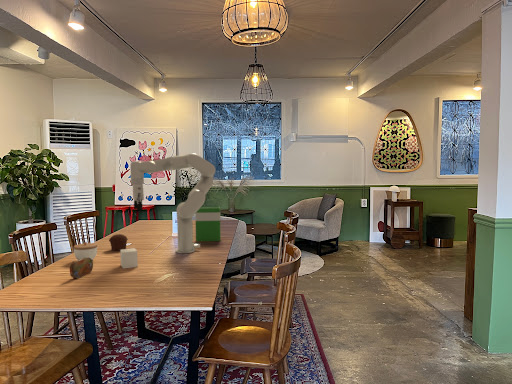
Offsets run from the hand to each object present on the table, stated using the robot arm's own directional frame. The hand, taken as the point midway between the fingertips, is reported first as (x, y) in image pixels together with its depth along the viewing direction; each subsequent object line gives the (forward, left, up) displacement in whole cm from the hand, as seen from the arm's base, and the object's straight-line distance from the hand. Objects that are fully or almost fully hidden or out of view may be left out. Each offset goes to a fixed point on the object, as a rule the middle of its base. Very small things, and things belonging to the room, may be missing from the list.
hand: (138, 209), depth 228 cm
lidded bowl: (+30, -2, -29) cm, 41 cm away
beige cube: (+10, +23, -28) cm, 38 cm away
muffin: (+9, -23, -29) cm, 38 cm away
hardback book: (-54, -23, -29) cm, 65 cm away
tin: (+34, +30, -29) cm, 54 cm away
